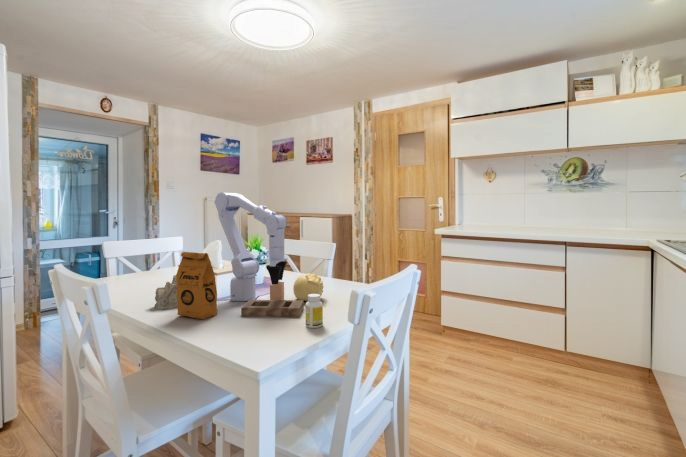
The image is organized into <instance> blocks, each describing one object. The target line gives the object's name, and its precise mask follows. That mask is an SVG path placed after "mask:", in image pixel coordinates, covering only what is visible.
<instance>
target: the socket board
mask: <svg viewBox="0 0 686 457" xmlns="http://www.w3.org/2000/svg"><path fill="white" fill-rule="evenodd" d="M304 306H305V304H304V300H298V299H297V300H296V299H284V300H270V299H255V300H249V301H246V302H245V304H244V305H242V306H241V307H240V315H241V316H240V317H263V318H264V317H270V318H271V317H272V318H273V317H275V318H278V317H279V318H300V317H301V314H302V312H303V310H304V309H305V308H304Z"/></svg>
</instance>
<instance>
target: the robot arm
mask: <svg viewBox="0 0 686 457" xmlns="http://www.w3.org/2000/svg"><path fill="white" fill-rule="evenodd" d="M213 202H214V206H215V208H216V210H217V214H218V215H217V217H218V219H219V221H220V224H221V227H222V229H223V232H224V235H225V236H226V239H227V242H228V245H229V247H230V250H231V252H232V255H233V258H232V259H231V260H230V264H231V266H232V267H231V269H232V274H233V275H234V276H233V277H231V279H230V284H229V288H230V289H229V290H230V291H229V292H230V299H229V301H231V302H232V301H233V302H248V301H249V300H257V298H259V294H257V293H256V291H257V290H256V289H257V288H256V277H257V273H259V271H260V263H259V261H258V260H256V259H255V256H254V255H253V253H250V252H249V251H248V250H247V247H246V245H245V243H244V240H243V238H242V234H241V232H240V230H239V228H238V225H237V222H236V220H235V215H237V213H238V211H239V210H240V208H241V209H244V210H245V211H247V212H249V213H251V214H252V215H253V218H254V219H256V221H258V222H261V224H263V225H265V227H266V230H267V234H268V248H269V249H268V250H269V251H268V257H269V258H268V261H269V264H268V265H266V266H265V268H266V270H267V271H268V274H269V277H270V281H271V282H270V283H272V284H278V282H280V281H282V280H283V277H284V272H285V268H286V265H287V263H288V258H289V257H285V229H286V228H287V226H288V220H287V218H286V217H285V216H284V214H277V212H276V211H272V210H270V209H269V208H268V206H267V205H257V204H255V203H253V202H252V201H251V200H249V199H248V198H246V197H245V196H244V195H243V194H241V193H239V192H223V191H220V192H219V193H217V194H216V196H215V199H214V201H213Z"/></svg>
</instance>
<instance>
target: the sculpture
mask: <svg viewBox="0 0 686 457" xmlns="http://www.w3.org/2000/svg"><path fill="white" fill-rule="evenodd" d="M323 282H324V281H323V280H322V277H321V276H319V275H317V274H316V273H311V272H307V273H305V274H302V275H299V277H296V279H295V281H294V282H293V288H292V290H293V291H292V292H293V295H294V296H295V298H296V299H297V300H304V301H305V302H308V295H309V294H320V297H321V296H322V294H323V292H324V283H323Z"/></svg>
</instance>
